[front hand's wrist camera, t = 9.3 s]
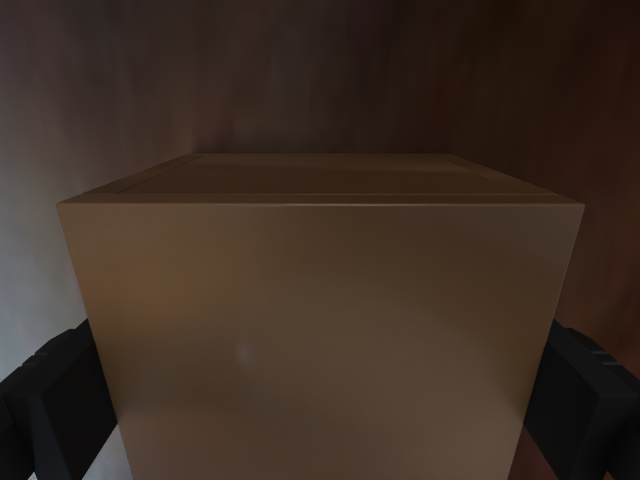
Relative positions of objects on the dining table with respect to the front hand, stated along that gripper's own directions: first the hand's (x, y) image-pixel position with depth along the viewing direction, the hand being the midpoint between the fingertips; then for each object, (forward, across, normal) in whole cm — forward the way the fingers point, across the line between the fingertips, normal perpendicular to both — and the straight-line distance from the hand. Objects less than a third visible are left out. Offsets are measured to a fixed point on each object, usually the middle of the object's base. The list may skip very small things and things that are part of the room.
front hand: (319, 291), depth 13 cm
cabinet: (+3, 0, -5) cm, 6 cm away
